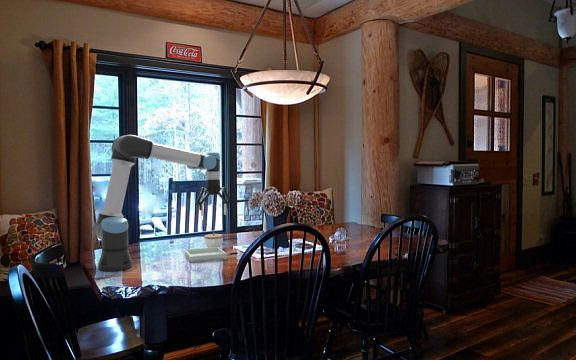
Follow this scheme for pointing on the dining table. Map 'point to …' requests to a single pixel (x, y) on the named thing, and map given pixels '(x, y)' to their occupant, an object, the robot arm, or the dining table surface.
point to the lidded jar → (213, 240)
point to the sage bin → (205, 254)
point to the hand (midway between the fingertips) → (213, 215)
